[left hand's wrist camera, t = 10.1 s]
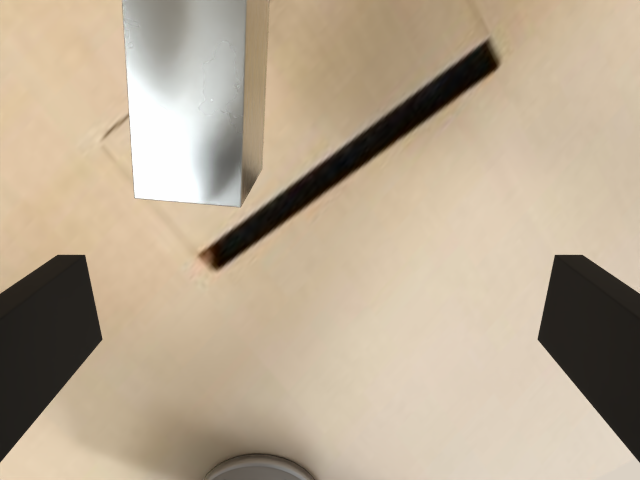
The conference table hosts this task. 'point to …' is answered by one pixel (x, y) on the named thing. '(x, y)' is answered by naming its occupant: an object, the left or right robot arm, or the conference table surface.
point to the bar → (196, 97)
